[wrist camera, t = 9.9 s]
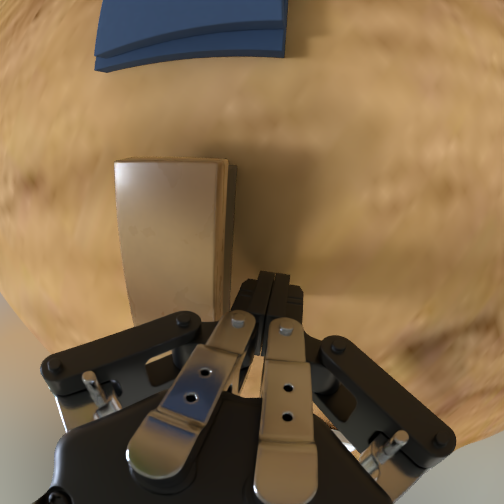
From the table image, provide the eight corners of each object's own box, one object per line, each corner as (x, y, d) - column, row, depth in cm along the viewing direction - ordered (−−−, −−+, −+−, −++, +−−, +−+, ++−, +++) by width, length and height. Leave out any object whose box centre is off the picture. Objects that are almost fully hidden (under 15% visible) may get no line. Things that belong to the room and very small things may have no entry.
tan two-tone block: (159, 151, 13) (113, 161, 9) (242, 154, 12) (218, 162, 9) (170, 333, 18) (146, 373, 14) (231, 347, 17) (215, 393, 14)
